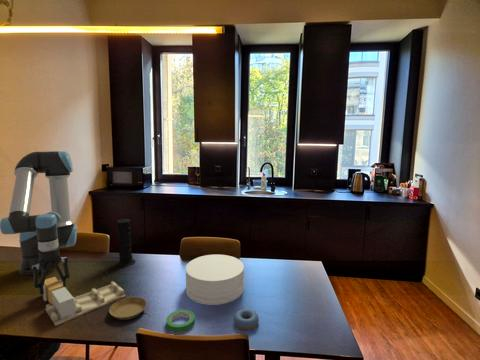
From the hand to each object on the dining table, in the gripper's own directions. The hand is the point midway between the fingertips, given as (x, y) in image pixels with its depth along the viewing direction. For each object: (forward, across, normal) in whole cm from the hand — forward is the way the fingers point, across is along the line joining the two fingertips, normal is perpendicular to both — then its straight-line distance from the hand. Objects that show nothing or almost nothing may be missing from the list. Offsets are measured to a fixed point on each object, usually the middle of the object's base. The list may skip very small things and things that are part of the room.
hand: (53, 296), depth 129 cm
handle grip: (0, +39, +11) cm, 41 cm away
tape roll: (+1, +30, -57) cm, 64 cm away
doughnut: (+1, +48, -75) cm, 89 cm away
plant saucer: (+1, +19, -35) cm, 40 cm away
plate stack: (+1, +57, -47) cm, 74 cm away
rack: (0, +9, -16) cm, 18 cm away
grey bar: (0, 0, -16) cm, 16 cm away
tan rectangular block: (0, 0, 0) cm, 1 cm away
